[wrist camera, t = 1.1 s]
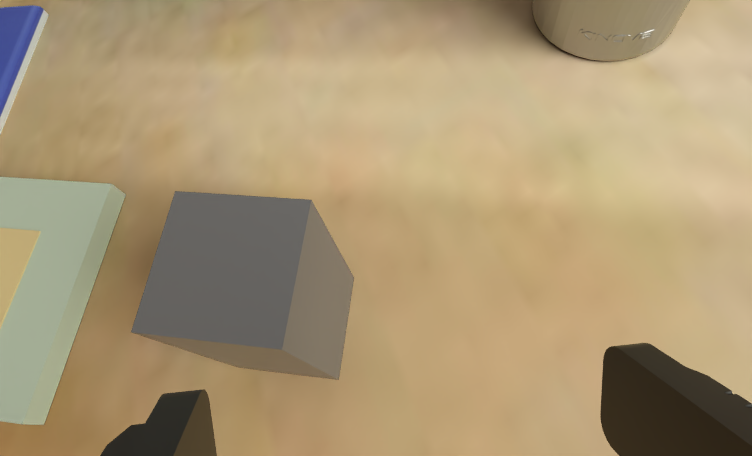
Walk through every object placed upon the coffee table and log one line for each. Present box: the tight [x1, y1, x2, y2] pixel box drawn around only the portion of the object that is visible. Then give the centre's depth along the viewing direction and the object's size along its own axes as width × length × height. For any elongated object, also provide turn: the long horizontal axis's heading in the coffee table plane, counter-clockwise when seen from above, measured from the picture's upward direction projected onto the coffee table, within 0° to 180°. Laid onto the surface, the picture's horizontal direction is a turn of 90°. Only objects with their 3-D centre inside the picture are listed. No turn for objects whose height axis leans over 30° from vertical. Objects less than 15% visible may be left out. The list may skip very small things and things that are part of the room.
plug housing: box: [131, 191, 354, 380], centre depth 22 cm, size 6×6×10 cm
